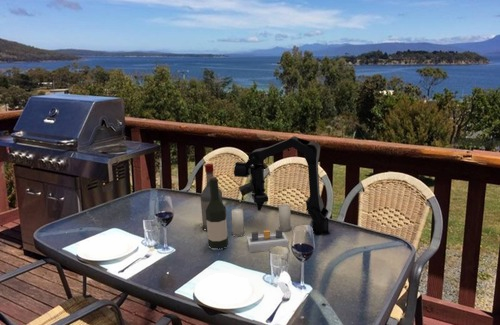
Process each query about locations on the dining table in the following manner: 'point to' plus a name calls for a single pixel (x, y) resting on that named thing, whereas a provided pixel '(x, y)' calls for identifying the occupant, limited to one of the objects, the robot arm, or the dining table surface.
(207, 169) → the liquor
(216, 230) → the wine bottle
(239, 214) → the post
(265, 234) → the block
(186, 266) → the dining table surface
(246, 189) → the robot arm
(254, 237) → the paddle
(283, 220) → the post
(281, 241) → the box
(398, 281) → the dining table surface
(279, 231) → the paddle
